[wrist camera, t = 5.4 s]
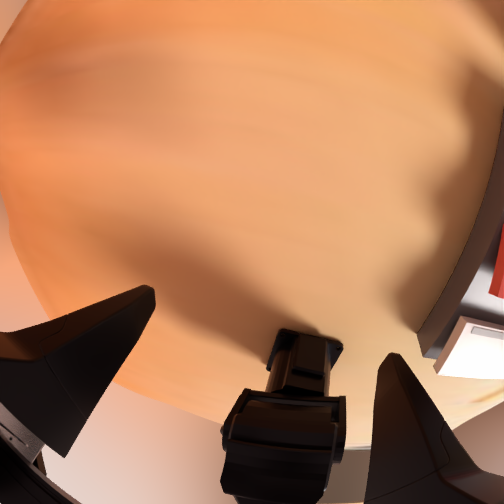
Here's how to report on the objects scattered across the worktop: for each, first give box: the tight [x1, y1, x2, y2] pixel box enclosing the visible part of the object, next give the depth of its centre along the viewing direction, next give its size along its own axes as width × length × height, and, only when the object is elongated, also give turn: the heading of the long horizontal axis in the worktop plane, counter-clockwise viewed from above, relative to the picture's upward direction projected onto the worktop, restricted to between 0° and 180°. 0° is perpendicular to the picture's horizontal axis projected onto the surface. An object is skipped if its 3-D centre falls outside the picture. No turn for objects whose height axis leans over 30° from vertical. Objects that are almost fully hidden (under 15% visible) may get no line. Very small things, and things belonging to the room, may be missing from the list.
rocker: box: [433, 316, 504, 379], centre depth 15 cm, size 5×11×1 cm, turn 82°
